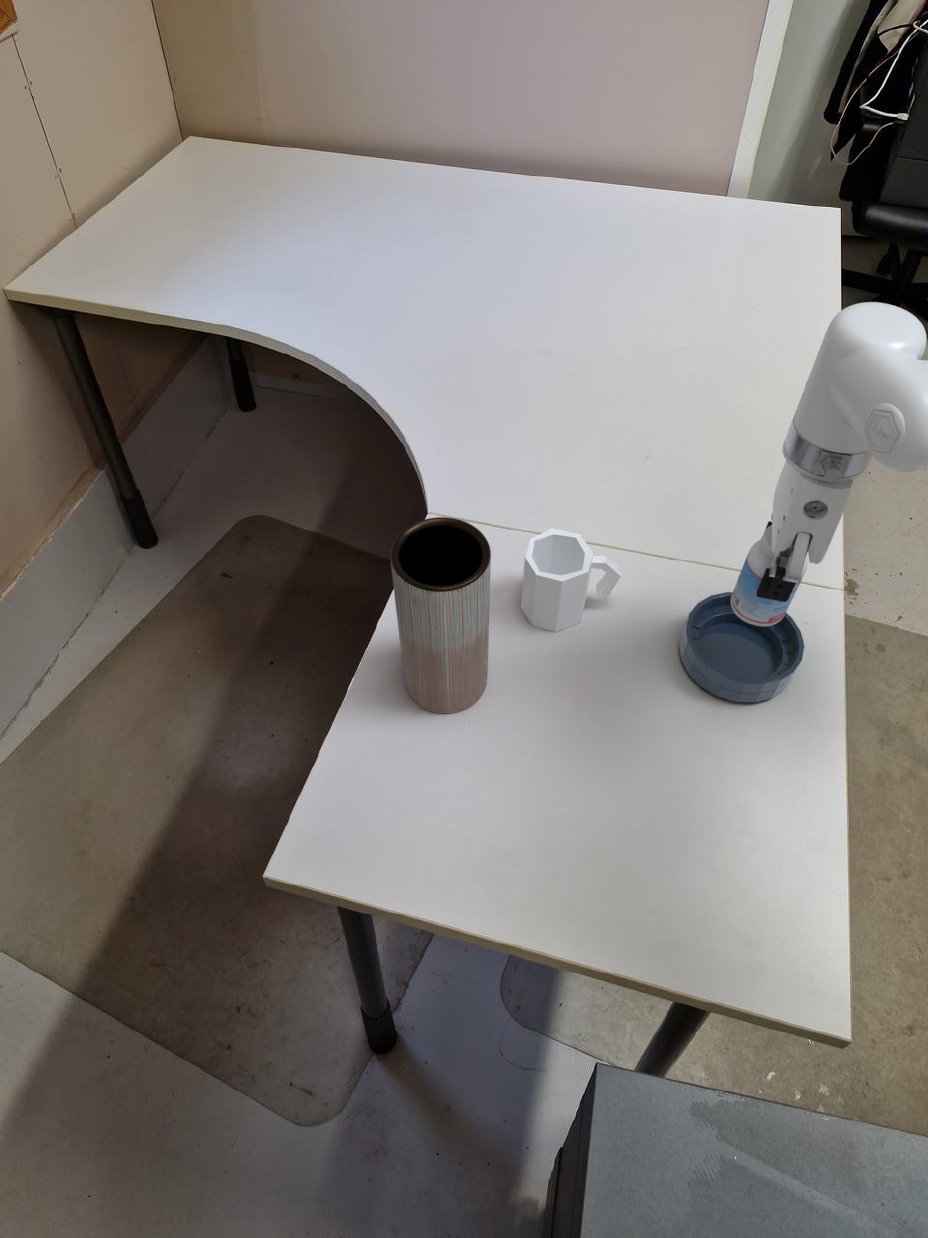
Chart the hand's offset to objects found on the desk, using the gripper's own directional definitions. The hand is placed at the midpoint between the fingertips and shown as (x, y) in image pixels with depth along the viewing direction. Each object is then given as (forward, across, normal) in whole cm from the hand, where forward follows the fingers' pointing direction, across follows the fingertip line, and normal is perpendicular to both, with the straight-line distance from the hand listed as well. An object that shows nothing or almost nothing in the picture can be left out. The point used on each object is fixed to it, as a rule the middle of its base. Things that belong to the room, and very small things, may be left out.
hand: (772, 572), depth 88 cm
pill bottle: (+6, 0, 0) cm, 6 cm away
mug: (+16, +3, +22) cm, 27 cm away
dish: (+16, 0, 0) cm, 16 cm away
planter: (+16, -12, +34) cm, 39 cm away
